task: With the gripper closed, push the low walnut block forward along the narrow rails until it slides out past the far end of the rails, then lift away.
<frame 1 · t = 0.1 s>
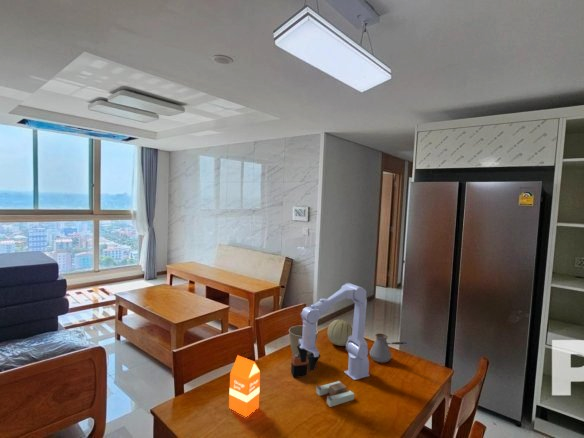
hand: (307, 365, 138), 10 cm above the table, fingers open, 7 cm apart
block: (337, 395, 134), on the table
coffee pot: (387, 363, 164), on the table
rails: (334, 396, 133), on the table
plant pot: (301, 361, 163), on the table
orange juice: (243, 409, 123), on the table
battery: (298, 375, 149), on the table
cantaloupe: (339, 345, 184), on the table
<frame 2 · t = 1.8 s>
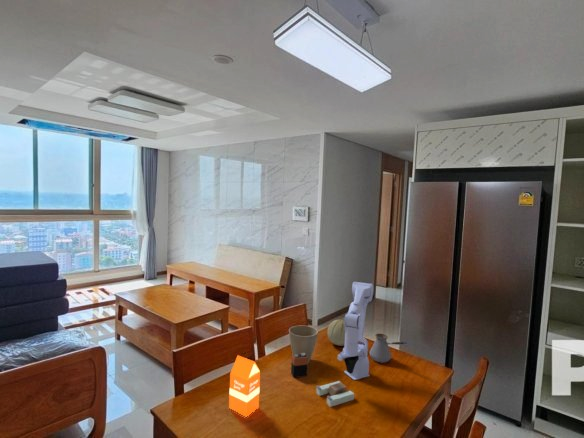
hand: (349, 372, 137), 9 cm above the table, fingers closed
nothing on the table moved.
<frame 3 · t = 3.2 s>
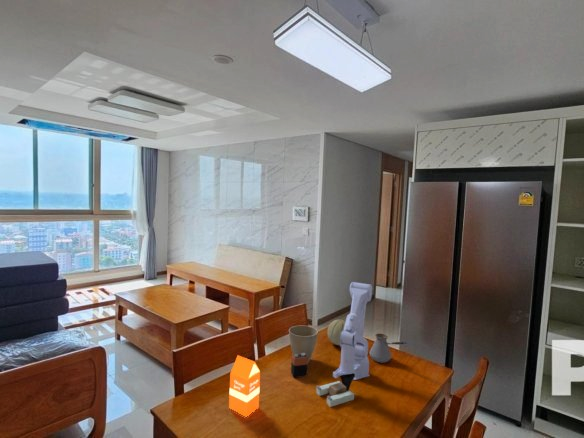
hand: (346, 389, 136), 1 cm above the table, fingers closed
block: (337, 395, 134), on the table, touching gripper
everything else where it was.
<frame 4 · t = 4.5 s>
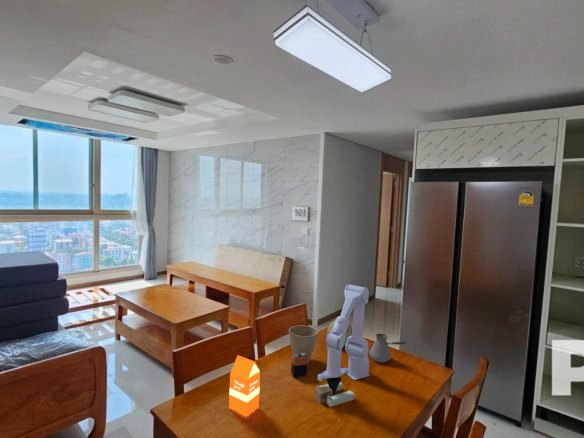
hand: (332, 393, 133), 1 cm above the table, fingers closed
block: (323, 398, 131), on the table, touching gripper
everything else where it was.
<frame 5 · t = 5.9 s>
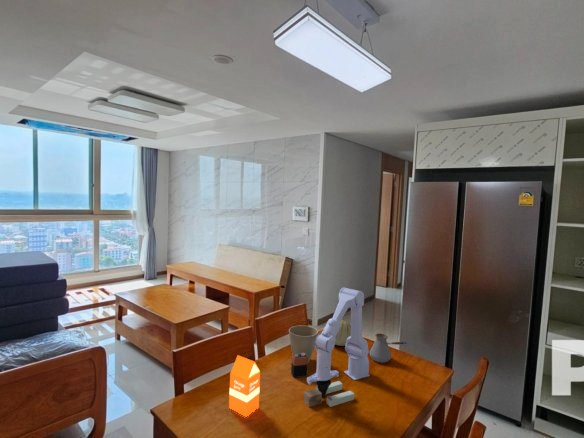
hand: (322, 396, 130), 1 cm above the table, fingers closed
block: (312, 402, 129), on the table, touching gripper
everything else where it was.
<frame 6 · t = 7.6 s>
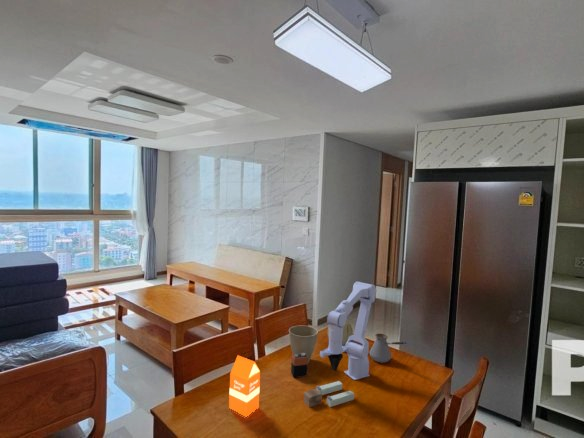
hand: (334, 370, 137), 9 cm above the table, fingers closed
block: (312, 402, 128), on the table
everything else where it was.
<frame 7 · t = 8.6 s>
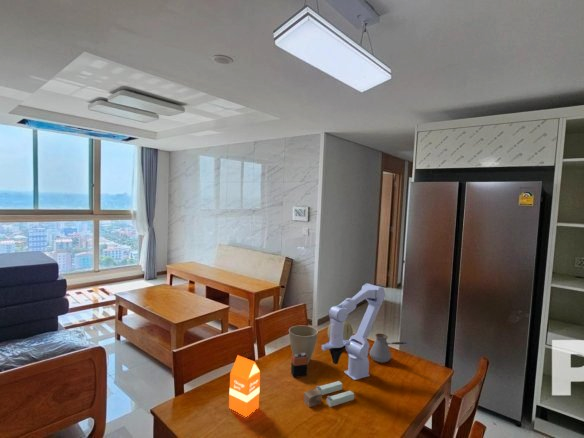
hand: (335, 363, 143), 9 cm above the table, fingers closed
nothing on the table moved.
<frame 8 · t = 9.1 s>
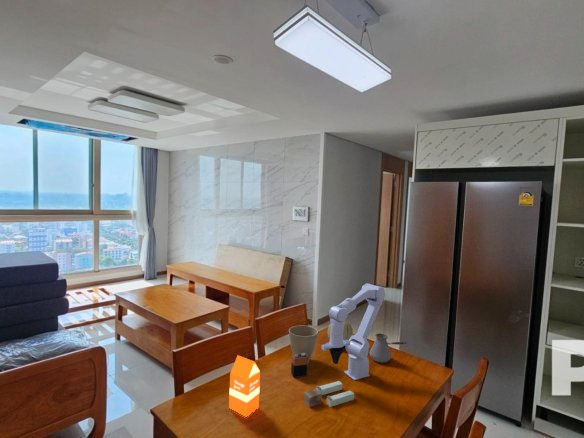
hand: (335, 363, 143), 9 cm above the table, fingers closed
nothing on the table moved.
at the end: block inside the target area (3.4 cm from its centre), on the table; block tilted 0°; block touching table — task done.
